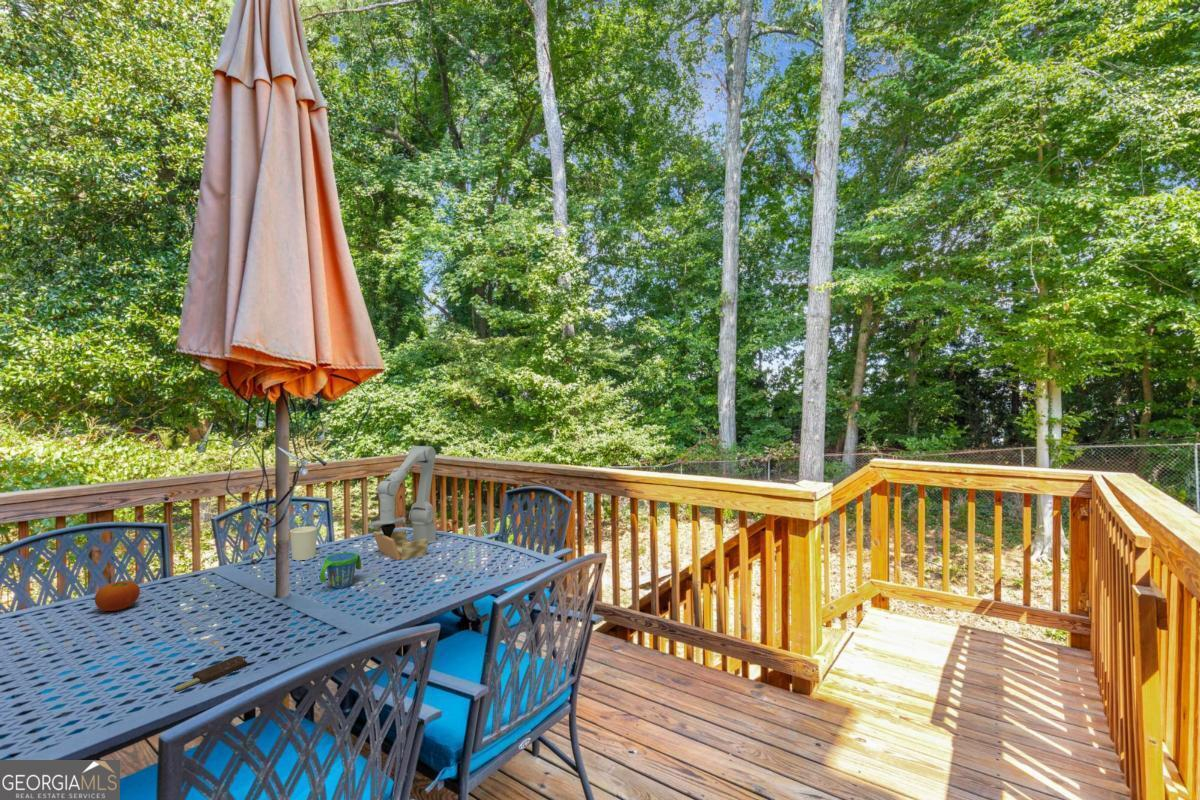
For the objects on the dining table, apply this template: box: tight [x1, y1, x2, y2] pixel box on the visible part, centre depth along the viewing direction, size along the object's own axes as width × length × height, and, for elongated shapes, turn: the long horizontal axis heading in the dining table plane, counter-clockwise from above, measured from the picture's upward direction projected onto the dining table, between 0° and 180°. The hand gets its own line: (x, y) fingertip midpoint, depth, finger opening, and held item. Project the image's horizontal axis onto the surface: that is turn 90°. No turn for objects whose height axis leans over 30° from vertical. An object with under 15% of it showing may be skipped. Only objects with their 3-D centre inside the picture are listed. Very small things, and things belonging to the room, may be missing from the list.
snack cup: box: [319, 551, 362, 589], centre depth 186 cm, size 16×10×10 cm
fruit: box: [94, 580, 141, 612], centre depth 164 cm, size 11×10×8 cm
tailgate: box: [372, 530, 401, 561], centre depth 219 cm, size 1×18×9 cm, turn 45°
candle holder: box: [289, 525, 318, 560], centre depth 215 cm, size 10×10×12 cm
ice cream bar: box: [173, 655, 248, 692], centre depth 126 cm, size 5×2×15 cm
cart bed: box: [382, 529, 429, 561], centre depth 224 cm, size 10×21×7 cm, turn 45°
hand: (387, 542), depth 219 cm, fingers closed, pressing on tailgate
